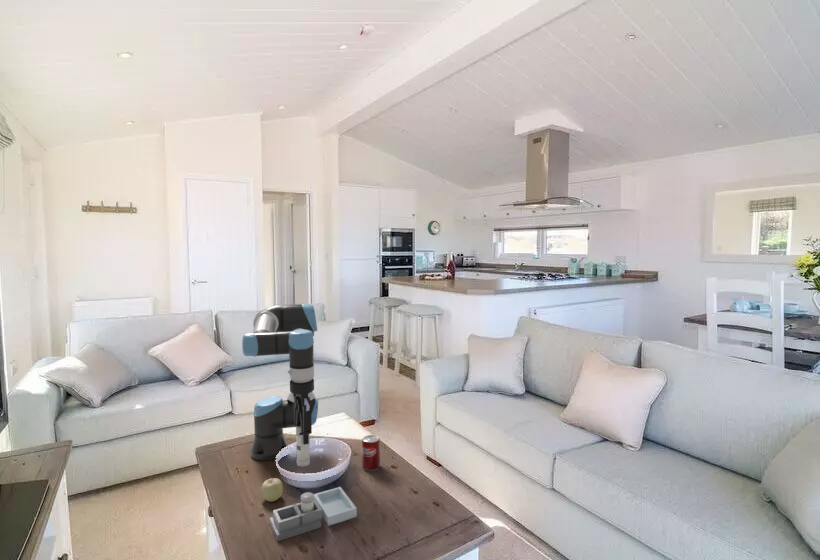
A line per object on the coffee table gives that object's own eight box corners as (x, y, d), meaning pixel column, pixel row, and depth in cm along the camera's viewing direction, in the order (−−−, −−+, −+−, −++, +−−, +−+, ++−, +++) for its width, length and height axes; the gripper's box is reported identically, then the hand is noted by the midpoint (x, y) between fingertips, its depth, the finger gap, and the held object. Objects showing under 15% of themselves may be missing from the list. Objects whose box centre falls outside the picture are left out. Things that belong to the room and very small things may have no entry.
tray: (313, 502, 159) (313, 494, 159) (340, 494, 164) (340, 486, 163) (328, 526, 146) (327, 517, 146) (356, 516, 151) (356, 508, 151)
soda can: (373, 473, 178) (372, 444, 177) (358, 468, 182) (358, 439, 181) (383, 465, 185) (383, 437, 184) (369, 460, 188) (369, 433, 187)
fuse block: (269, 523, 147) (269, 497, 146) (313, 510, 154) (313, 485, 153) (277, 541, 138) (276, 514, 138) (323, 526, 146) (323, 500, 145)
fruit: (287, 497, 162) (287, 475, 161) (271, 507, 156) (270, 485, 155) (273, 490, 166) (272, 469, 165) (256, 500, 160) (256, 478, 159)
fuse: (295, 461, 147) (294, 426, 146) (308, 459, 149) (307, 423, 148) (298, 467, 144) (297, 431, 143) (311, 464, 146) (310, 428, 144)
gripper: (283, 373, 150) (285, 441, 152) (296, 389, 135) (298, 464, 137) (306, 370, 153) (307, 436, 155) (321, 385, 138) (322, 458, 140)
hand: (303, 449), depth 146 cm, fingers closed on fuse, 4 cm apart
